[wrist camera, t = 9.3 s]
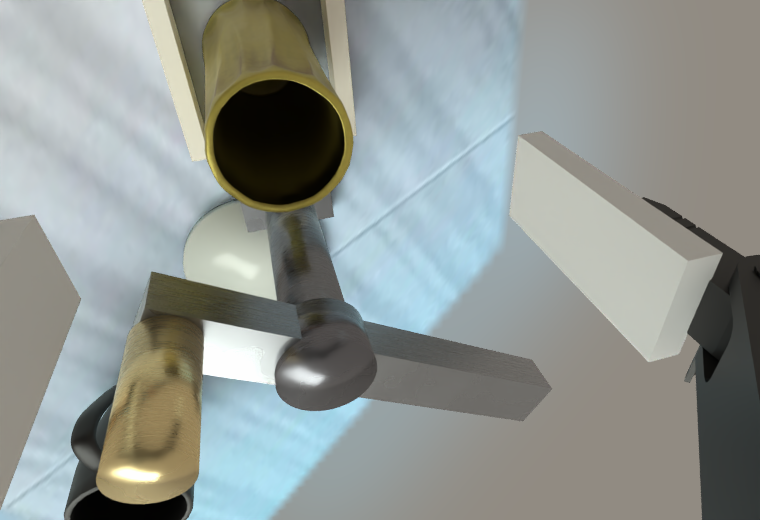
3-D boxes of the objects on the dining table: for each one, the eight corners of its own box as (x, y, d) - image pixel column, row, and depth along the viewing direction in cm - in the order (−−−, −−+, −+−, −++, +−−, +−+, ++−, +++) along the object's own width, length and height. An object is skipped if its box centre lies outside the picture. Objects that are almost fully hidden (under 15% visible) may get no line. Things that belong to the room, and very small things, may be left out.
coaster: (164, 212, 32) (163, 218, 31) (313, 186, 34) (315, 191, 33) (205, 321, 38) (205, 328, 37) (330, 294, 40) (332, 301, 39)
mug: (164, 329, 38) (150, 432, 30) (209, 421, 45) (207, 523, 37) (51, 355, 36) (7, 470, 29) (116, 446, 43) (94, 557, 36)
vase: (223, 117, 30) (225, 241, 18) (184, 7, 26) (156, 79, 15) (320, 94, 30) (377, 200, 19) (295, -17, 27) (349, 36, 15)
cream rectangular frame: (136, -39, 24) (130, -36, 23) (332, -56, 26) (339, -54, 24) (193, 148, 30) (192, 161, 29) (349, 124, 32) (356, 135, 30)
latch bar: (540, 349, 25) (628, 470, 20) (497, 400, 27) (567, 524, 22) (151, 252, 17) (116, 422, 11) (122, 337, 18) (79, 520, 13)
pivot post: (226, 143, 31) (229, 291, 19) (320, 129, 32) (379, 260, 20) (247, 223, 34) (261, 391, 22) (330, 208, 35) (386, 360, 23)
